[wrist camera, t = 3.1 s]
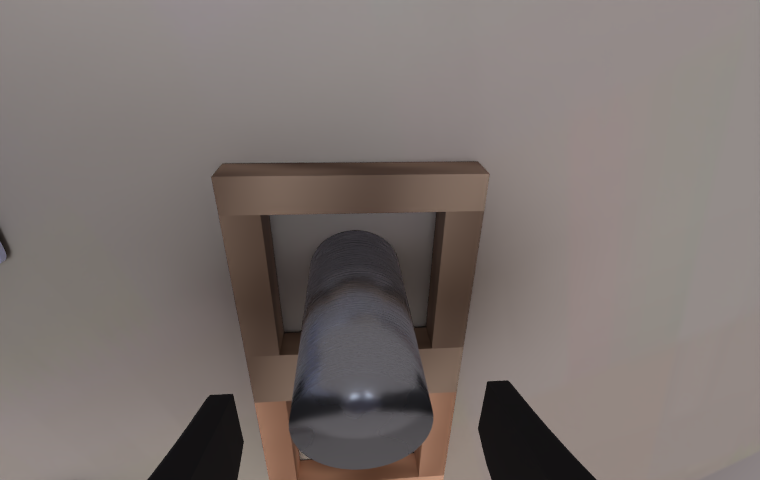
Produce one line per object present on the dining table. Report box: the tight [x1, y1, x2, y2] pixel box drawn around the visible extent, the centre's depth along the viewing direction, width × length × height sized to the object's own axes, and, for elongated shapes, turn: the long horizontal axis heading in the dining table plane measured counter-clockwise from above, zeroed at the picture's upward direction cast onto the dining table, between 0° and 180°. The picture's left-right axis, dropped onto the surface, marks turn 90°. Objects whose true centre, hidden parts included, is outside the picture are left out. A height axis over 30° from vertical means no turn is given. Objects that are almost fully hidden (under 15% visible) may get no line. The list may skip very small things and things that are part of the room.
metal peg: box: [289, 230, 433, 470], centre depth 15 cm, size 4×4×8 cm
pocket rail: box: [211, 162, 490, 480], centre depth 20 cm, size 10×20×2 cm, turn 179°
